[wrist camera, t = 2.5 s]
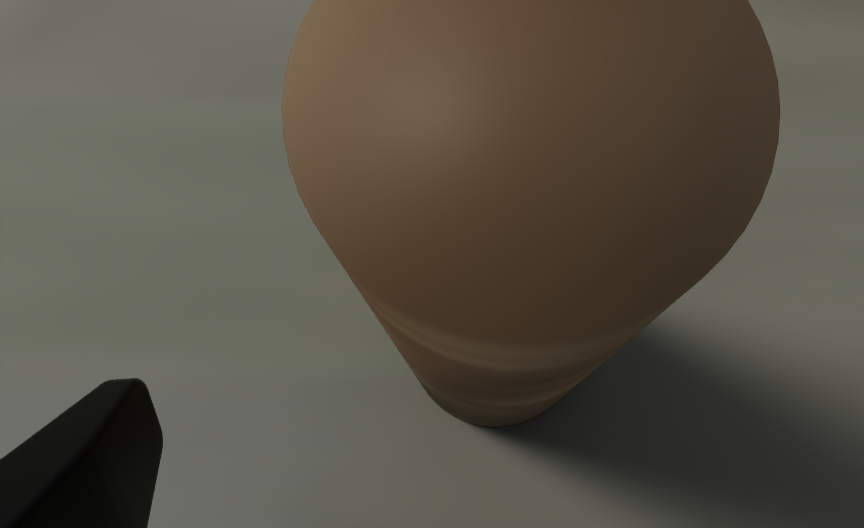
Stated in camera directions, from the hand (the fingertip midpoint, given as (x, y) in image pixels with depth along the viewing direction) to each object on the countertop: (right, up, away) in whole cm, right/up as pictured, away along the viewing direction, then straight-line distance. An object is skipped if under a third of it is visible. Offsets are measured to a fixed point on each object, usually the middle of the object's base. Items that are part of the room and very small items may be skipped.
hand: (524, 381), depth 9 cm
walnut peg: (0, 0, +10) cm, 10 cm away
